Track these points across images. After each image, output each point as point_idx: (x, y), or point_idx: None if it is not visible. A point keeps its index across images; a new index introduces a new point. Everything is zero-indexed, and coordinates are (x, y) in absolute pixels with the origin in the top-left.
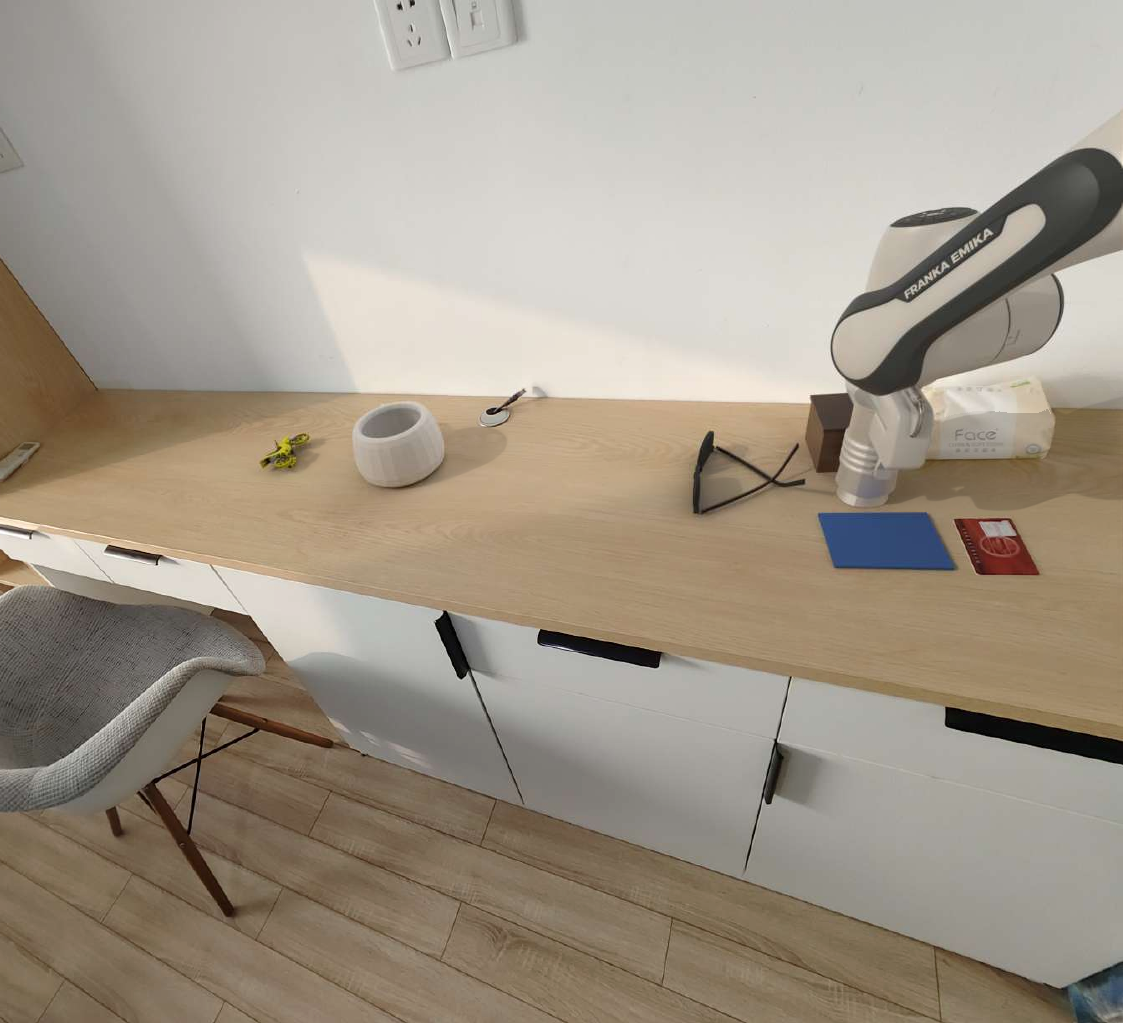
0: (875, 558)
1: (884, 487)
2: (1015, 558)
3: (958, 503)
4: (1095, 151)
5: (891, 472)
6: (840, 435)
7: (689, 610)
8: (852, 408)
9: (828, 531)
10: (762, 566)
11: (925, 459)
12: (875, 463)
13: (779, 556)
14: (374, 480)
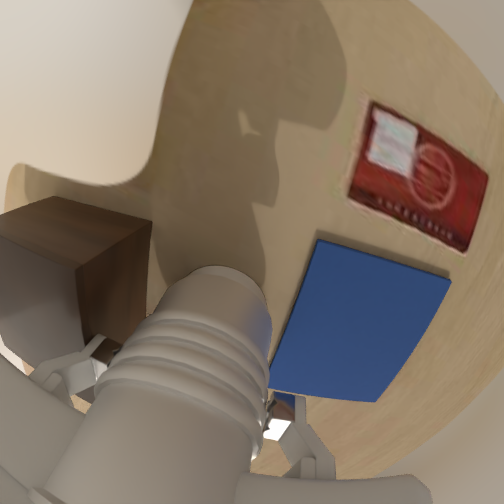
0: (388, 364)
1: (268, 340)
2: (460, 177)
3: (299, 154)
4: None
5: (304, 412)
6: None
7: (356, 471)
8: (23, 323)
9: (311, 391)
10: (335, 441)
11: (432, 502)
12: (270, 438)
13: (327, 430)
14: None
